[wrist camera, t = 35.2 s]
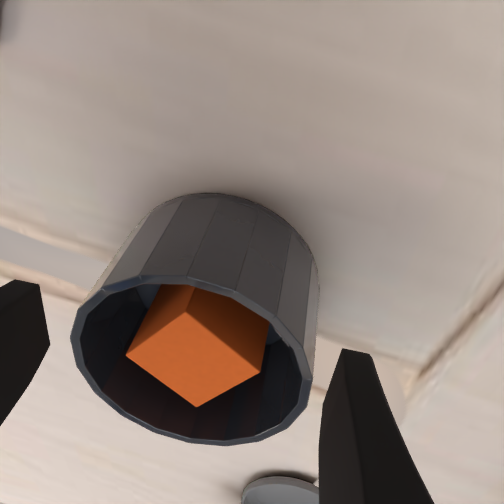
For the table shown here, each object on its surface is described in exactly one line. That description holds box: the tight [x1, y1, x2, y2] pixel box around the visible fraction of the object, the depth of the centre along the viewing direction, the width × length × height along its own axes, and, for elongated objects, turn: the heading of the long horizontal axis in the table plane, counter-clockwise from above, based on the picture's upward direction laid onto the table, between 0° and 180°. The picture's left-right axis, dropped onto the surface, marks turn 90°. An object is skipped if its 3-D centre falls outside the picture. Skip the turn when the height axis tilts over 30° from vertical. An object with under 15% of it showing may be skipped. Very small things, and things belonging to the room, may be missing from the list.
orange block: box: [126, 284, 270, 407], centre depth 21 cm, size 4×4×5 cm
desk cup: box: [70, 193, 320, 446], centre depth 21 cm, size 10×10×6 cm
